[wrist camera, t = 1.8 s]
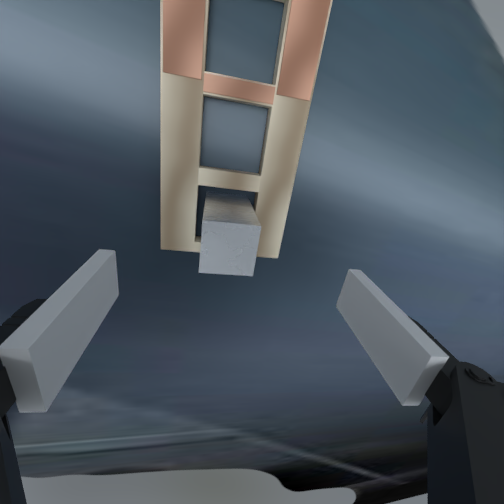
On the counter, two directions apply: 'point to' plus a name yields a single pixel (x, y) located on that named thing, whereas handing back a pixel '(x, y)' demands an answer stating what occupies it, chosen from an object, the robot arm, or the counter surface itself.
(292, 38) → the hole rail
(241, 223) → the steel peg
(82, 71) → the counter surface
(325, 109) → the counter surface
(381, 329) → the robot arm
